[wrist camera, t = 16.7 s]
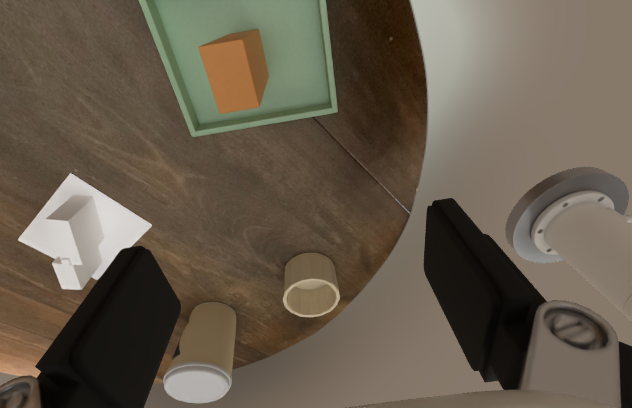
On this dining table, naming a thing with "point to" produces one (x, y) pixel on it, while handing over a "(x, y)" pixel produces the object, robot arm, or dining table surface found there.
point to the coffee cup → (203, 355)
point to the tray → (279, 49)
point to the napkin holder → (82, 232)
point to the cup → (310, 285)
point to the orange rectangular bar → (236, 70)
